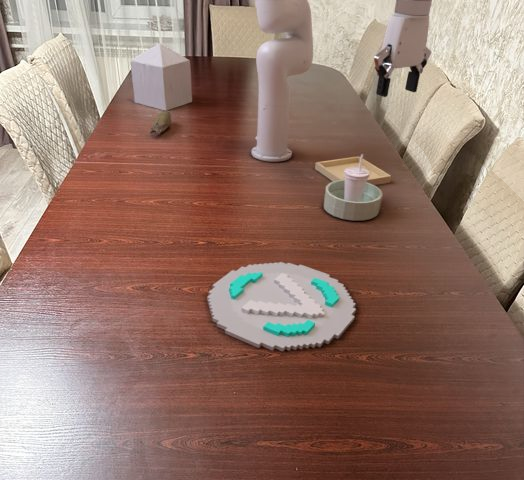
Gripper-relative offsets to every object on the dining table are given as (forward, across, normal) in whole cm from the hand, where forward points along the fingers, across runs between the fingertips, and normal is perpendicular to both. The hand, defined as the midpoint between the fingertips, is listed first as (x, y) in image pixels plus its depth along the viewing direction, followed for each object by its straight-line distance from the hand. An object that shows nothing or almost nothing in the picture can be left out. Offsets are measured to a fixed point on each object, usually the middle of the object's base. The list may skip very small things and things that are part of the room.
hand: (396, 93), depth 124 cm
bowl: (+27, +10, +1) cm, 29 cm away
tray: (+27, -5, -16) cm, 32 cm away
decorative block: (+26, +11, -107) cm, 111 cm away
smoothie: (+27, +10, +1) cm, 28 cm away
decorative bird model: (+27, +26, -77) cm, 86 cm away
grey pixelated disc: (+27, +51, +27) cm, 64 cm away
